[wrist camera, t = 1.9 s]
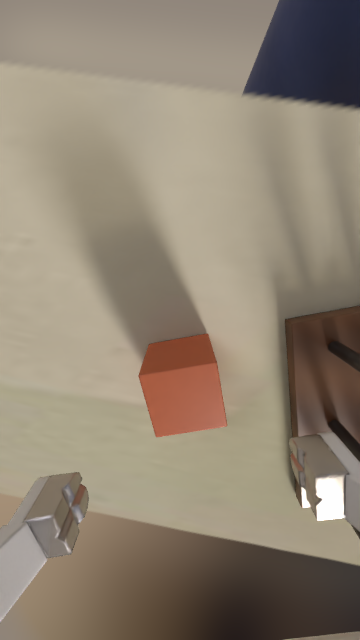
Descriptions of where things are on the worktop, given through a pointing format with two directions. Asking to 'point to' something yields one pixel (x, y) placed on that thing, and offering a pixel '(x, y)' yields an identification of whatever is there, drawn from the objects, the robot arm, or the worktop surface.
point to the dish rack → (325, 378)
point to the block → (182, 386)
